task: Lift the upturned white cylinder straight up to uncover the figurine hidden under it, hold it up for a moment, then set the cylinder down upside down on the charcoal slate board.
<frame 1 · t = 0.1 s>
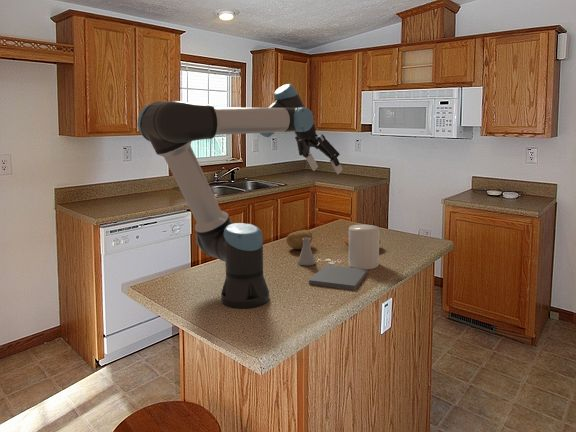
hand: (327, 170, 184), 36 cm above the counter, tool tilted 35°, fingers open, 13 cm apart
white cylinder: (363, 264, 186), on the counter
figurine: (363, 265, 186), on the counter
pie: (362, 249, 208), on the counter
slate board: (339, 278, 170), on the counter
flask: (306, 263, 188), on the counter
potato: (300, 249, 209), on the counter
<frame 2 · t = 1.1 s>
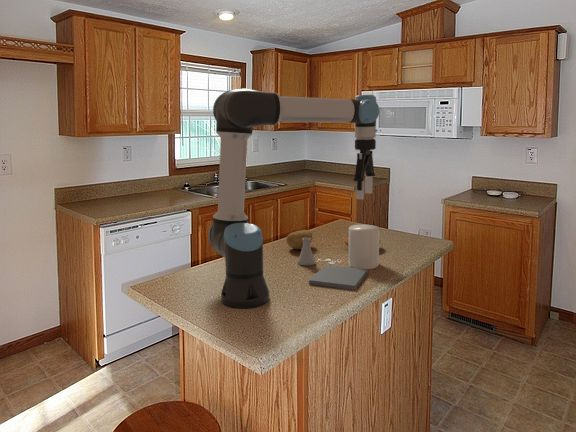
hand: (364, 196, 180), 27 cm above the counter, tool pointing down, fingers open, 13 cm apart
nothing on the counter moved.
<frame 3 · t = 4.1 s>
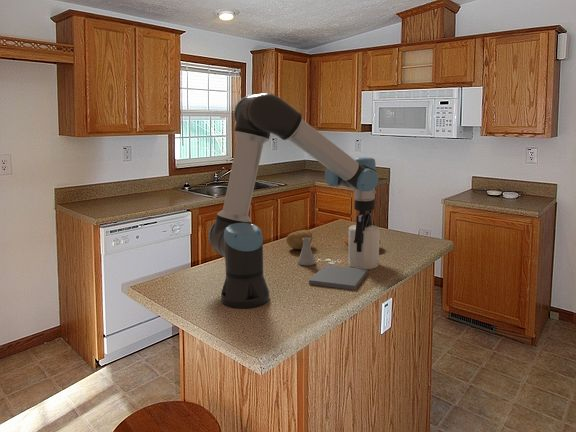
hand: (363, 255, 185), 4 cm above the counter, tool pointing down, fingers closed on white cylinder, 11 cm apart
white cylinder: (363, 264, 186), on the counter, touching gripper
everything else where it was.
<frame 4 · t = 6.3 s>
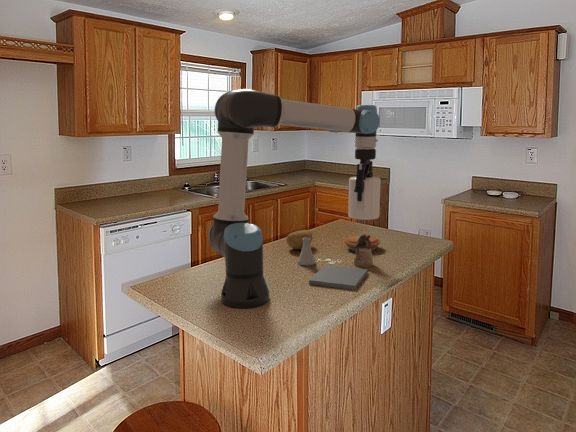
hand: (363, 207, 181), 23 cm above the counter, tool pointing down, fingers closed on white cylinder, 11 cm apart
white cylinder: (363, 216, 182), point 19 cm above the counter, touching gripper
everything else where it was.
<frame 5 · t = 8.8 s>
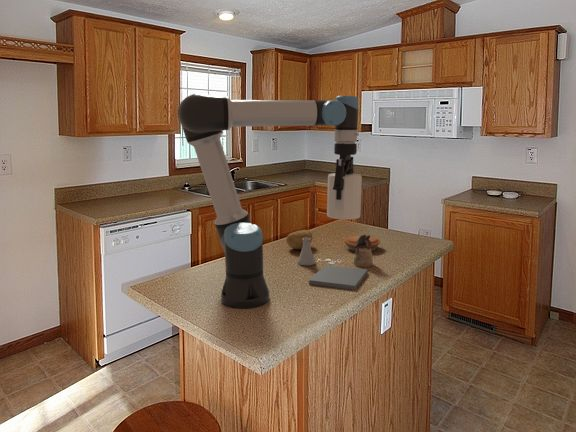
hand: (343, 206, 168), 25 cm above the counter, tool pointing down, fingers closed on white cylinder, 11 cm apart
white cylinder: (343, 216, 169), point 22 cm above the counter, touching gripper
everything else where it was.
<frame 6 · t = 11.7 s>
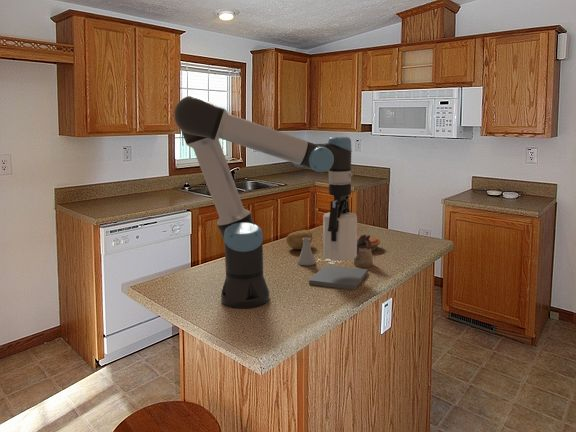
hand: (339, 245, 168), 12 cm above the counter, tool pointing down, fingers closed on white cylinder, 11 cm apart
white cylinder: (339, 255, 168), point 8 cm above the counter, touching gripper
everything else where it was.
when the fingers open (7 cm above the counter, at t = 13.9 s): white cylinder drops 1 cm, resting on slate board.
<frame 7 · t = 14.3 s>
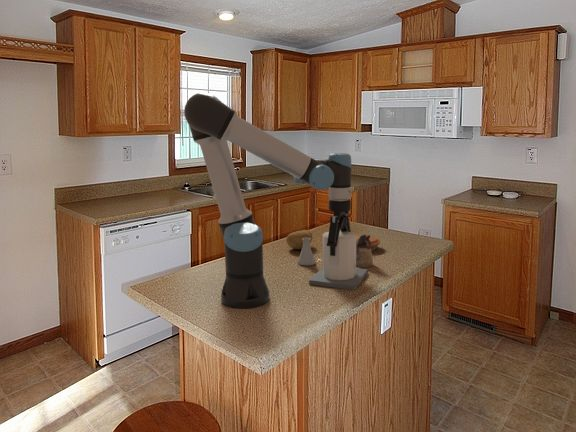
hand: (339, 259, 169), 7 cm above the counter, tool pointing down, fingers open, 13 cm apart
white cylinder: (339, 274, 170), point 1 cm above the counter, touching slate board
everything else where it was.
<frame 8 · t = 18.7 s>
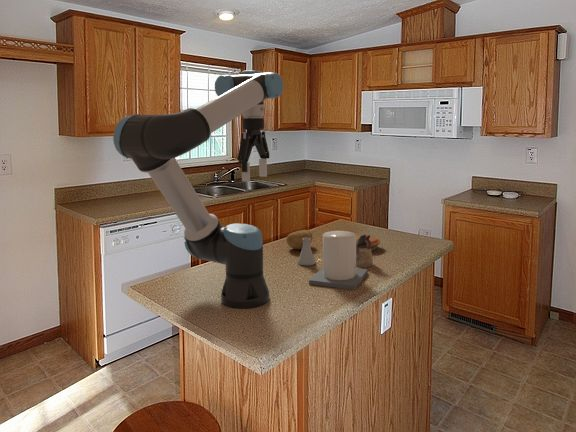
hand: (254, 179, 171), 35 cm above the counter, tool pointing down, fingers open, 13 cm apart
nothing on the counter moved.
at the end: white cylinder inside the target area on the slate board (0.0 cm from its centre), point 1.5 cm above the slate board's base; white cylinder tilted 0°; the gripper is holding nothing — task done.
